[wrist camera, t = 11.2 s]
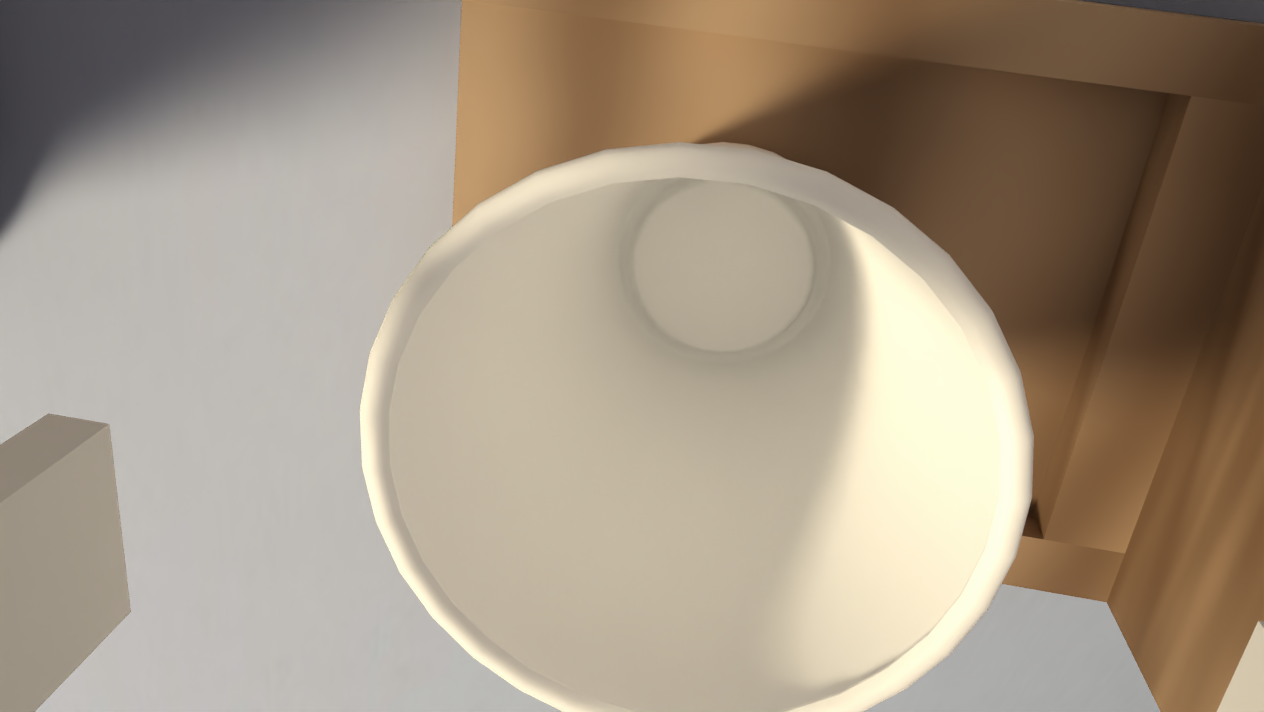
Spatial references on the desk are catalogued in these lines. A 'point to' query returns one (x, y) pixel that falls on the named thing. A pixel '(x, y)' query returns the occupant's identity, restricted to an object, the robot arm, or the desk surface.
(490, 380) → the cup
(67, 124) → the desk surface
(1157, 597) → the bracket shelf
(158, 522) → the desk surface
